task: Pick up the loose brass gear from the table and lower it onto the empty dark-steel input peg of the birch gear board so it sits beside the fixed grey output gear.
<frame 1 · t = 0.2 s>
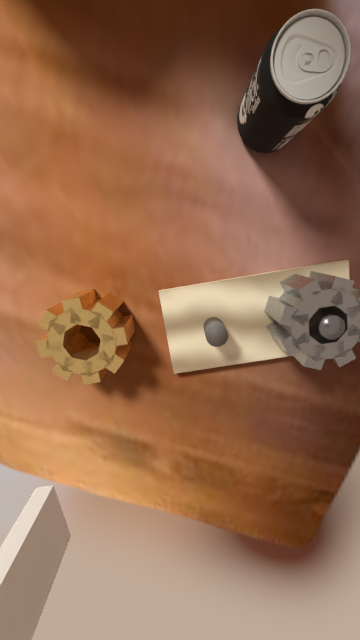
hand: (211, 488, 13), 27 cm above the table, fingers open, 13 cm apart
beverage can: (265, 122, 33), on the table
brass gear: (96, 327, 39), on the table
gear board: (254, 317, 39), on the table
output gear: (305, 312, 37), resting on gear board
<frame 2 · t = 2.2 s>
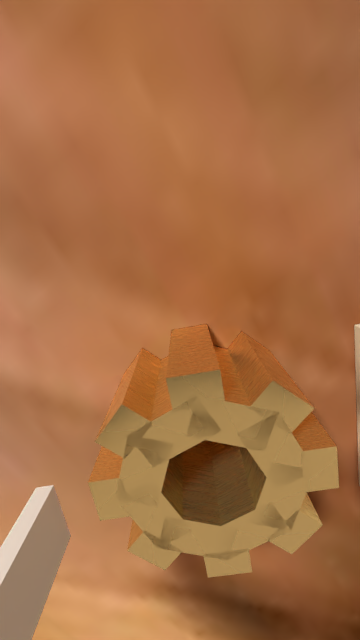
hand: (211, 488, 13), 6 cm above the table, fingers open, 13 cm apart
brass gear: (203, 405, 18), on the table
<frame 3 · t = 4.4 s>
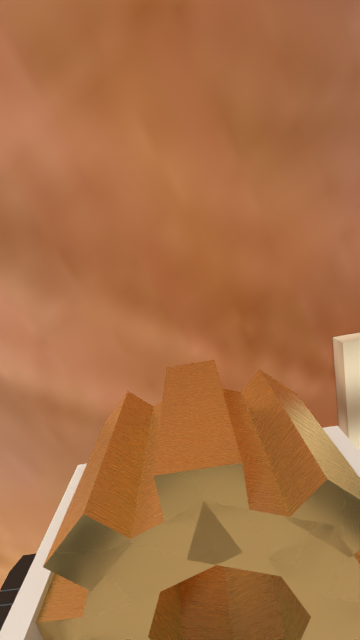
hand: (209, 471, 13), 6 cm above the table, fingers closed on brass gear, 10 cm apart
brass gear: (208, 464, 14), point 6 cm above the table, touching gripper
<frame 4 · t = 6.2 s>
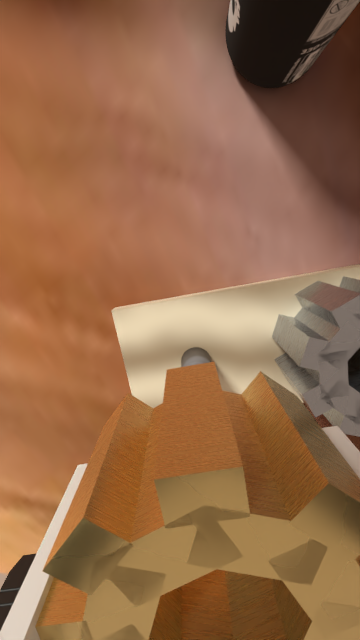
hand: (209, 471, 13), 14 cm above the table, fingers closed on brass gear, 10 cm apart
beverage can: (270, 39, 21), on the table
brass gear: (208, 466, 14), point 13 cm above the table, touching gripper
gear board: (257, 345, 26), on the table
output gear: (333, 338, 25), resting on gear board
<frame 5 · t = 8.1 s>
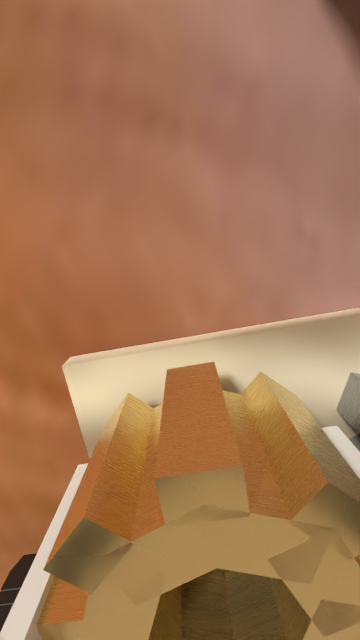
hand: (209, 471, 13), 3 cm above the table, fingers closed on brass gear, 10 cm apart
brass gear: (208, 465, 14), point 3 cm above the table, touching gripper
gear board: (307, 416, 16), on the table
when the fingers open (3 cm above the table, at t = 8.1 s): brass gear drops 1 cm, resting on gear board.
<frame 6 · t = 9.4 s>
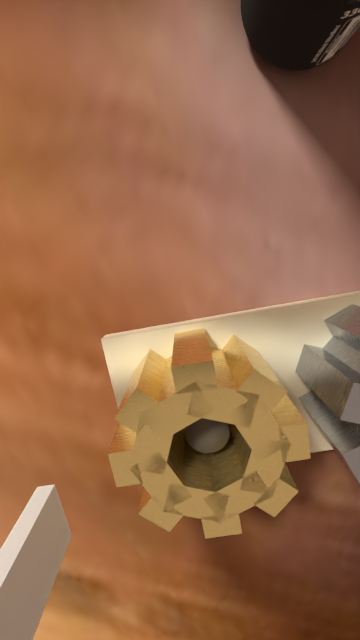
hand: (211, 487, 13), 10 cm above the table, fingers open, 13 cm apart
beverage can: (295, 13, 17), on the table
brass gear: (201, 398, 21), point 1 cm above the table, touching gear board
gear board: (276, 379, 22), on the table
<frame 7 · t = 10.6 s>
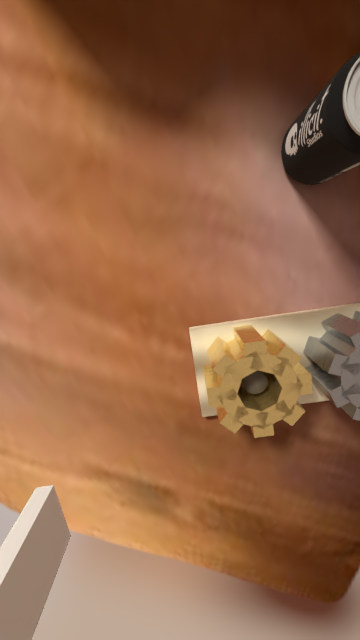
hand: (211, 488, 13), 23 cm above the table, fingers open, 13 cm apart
beverage can: (310, 152, 31), on the table
brass gear: (246, 367, 35), point 1 cm above the table, touching gear board
gear board: (291, 357, 36), on the table
output gear: (347, 354, 34), resting on gear board
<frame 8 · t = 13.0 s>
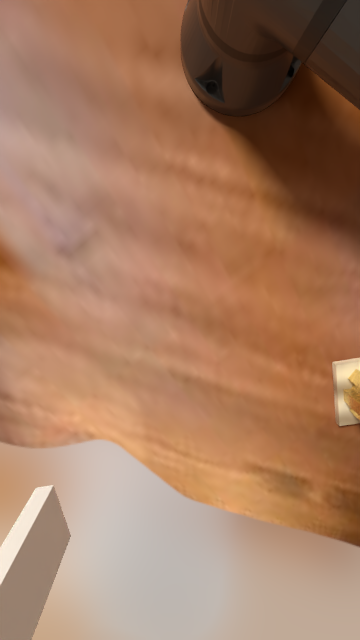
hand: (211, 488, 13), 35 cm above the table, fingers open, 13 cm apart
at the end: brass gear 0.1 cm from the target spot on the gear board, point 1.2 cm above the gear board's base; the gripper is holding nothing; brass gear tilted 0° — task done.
